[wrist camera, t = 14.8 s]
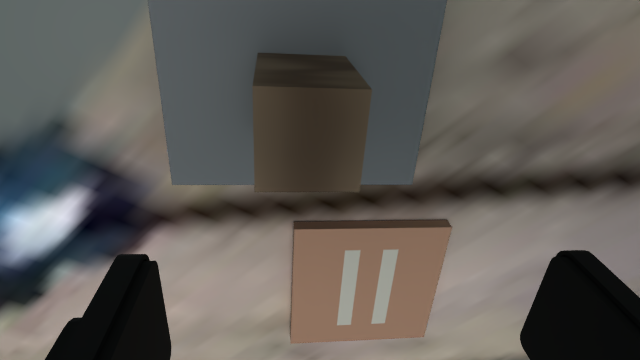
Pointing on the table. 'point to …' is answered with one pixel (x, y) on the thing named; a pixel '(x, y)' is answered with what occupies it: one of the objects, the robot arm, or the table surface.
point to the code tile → (365, 278)
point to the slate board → (289, 38)
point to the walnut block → (308, 123)
